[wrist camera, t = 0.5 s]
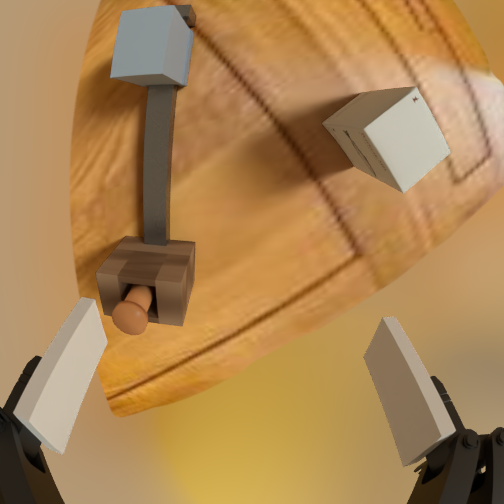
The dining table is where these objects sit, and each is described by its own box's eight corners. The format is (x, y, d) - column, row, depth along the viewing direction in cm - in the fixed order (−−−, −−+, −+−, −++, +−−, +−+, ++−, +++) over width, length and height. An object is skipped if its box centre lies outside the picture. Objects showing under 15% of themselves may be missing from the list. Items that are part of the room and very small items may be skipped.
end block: (126, 236, 36) (95, 272, 27) (195, 241, 37) (181, 282, 28) (129, 273, 39) (104, 314, 30) (194, 280, 40) (182, 326, 31)
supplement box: (319, 123, 30) (360, 126, 19) (362, 91, 28) (418, 83, 17) (353, 169, 33) (403, 196, 22) (393, 137, 31) (453, 152, 20)
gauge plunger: (129, 271, 30) (108, 303, 25) (159, 274, 31) (143, 309, 25) (132, 297, 32) (115, 331, 26) (161, 301, 32) (148, 337, 27)
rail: (157, 18, 23) (147, 8, 20) (196, 16, 24) (190, 4, 20) (142, 237, 36) (132, 250, 33) (177, 240, 37) (170, 253, 33)
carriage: (151, 36, 24) (120, 11, 15) (194, 34, 24) (176, 4, 16) (143, 87, 27) (108, 77, 18) (186, 86, 28) (164, 73, 19)
